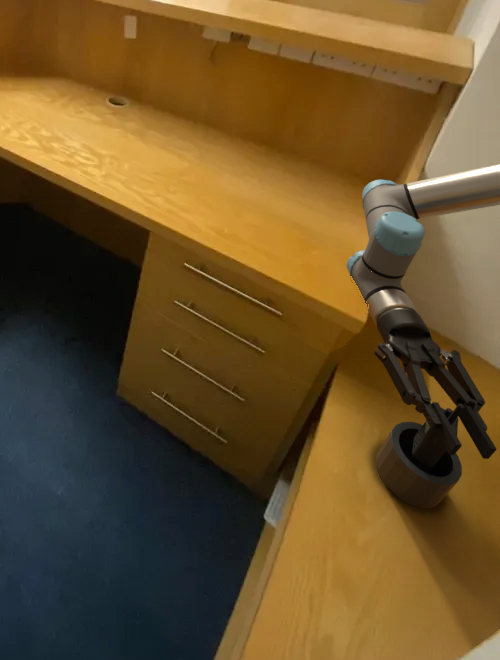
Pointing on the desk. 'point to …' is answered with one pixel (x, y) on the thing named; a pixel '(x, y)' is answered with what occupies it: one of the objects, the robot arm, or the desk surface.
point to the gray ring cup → (415, 469)
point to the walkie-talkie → (433, 439)
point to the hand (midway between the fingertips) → (472, 451)
